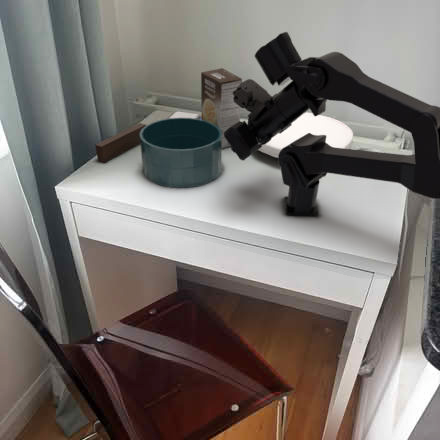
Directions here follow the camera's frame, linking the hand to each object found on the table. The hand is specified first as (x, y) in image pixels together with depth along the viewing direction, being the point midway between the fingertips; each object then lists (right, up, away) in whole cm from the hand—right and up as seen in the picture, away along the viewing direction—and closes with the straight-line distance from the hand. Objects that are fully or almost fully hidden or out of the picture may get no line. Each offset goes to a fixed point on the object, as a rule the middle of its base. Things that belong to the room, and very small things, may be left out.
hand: (233, 150), depth 95 cm
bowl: (-11, -1, +11) cm, 16 cm away
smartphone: (-14, +17, +31) cm, 38 cm away
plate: (+17, +7, +21) cm, 28 cm away
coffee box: (-3, +9, +23) cm, 25 cm away
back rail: (-27, +6, +18) cm, 32 cm away
